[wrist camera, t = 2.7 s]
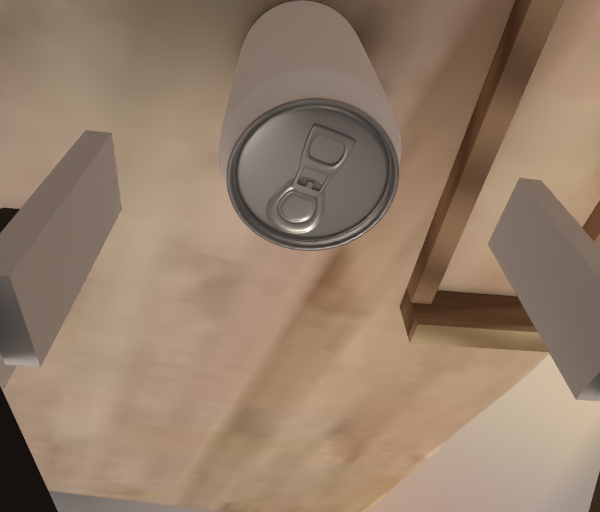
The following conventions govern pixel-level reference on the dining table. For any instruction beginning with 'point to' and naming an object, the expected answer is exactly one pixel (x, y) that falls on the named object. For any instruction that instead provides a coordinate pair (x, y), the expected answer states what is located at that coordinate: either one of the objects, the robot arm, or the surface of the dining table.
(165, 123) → the dining table surface
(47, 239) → the robot arm
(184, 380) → the dining table surface
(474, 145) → the guide
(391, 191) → the can
